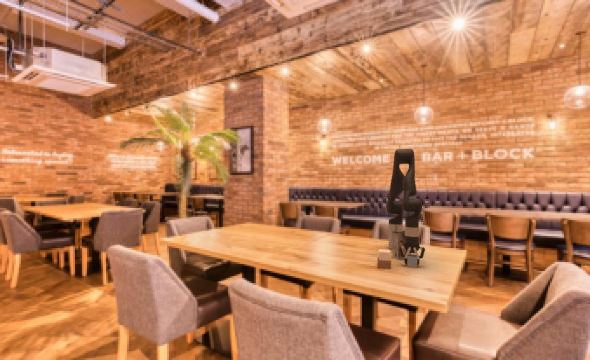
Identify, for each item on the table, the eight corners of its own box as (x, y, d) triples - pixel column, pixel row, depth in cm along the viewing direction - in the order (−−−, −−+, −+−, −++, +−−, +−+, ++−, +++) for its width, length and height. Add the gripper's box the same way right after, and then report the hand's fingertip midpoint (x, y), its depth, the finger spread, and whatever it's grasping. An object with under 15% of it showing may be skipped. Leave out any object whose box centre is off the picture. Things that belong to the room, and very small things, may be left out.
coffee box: (404, 255, 185) (404, 230, 185) (411, 258, 179) (411, 232, 178) (391, 256, 182) (392, 231, 182) (398, 259, 176) (398, 233, 176)
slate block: (406, 264, 167) (406, 253, 167) (415, 265, 166) (415, 254, 166) (407, 267, 162) (407, 256, 162) (417, 267, 161) (417, 256, 161)
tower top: (378, 257, 167) (378, 249, 167) (389, 257, 165) (389, 249, 165) (378, 260, 161) (378, 251, 161) (390, 260, 159) (390, 252, 159)
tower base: (377, 264, 167) (377, 256, 167) (390, 265, 166) (390, 257, 166) (377, 268, 161) (377, 260, 161) (391, 269, 159) (391, 261, 159)
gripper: (424, 234, 166) (424, 264, 166) (397, 232, 169) (397, 262, 170) (426, 236, 158) (426, 268, 159) (398, 235, 162) (398, 266, 162)
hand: (411, 264), depth 164 cm, fingers closed on slate block, 5 cm apart
